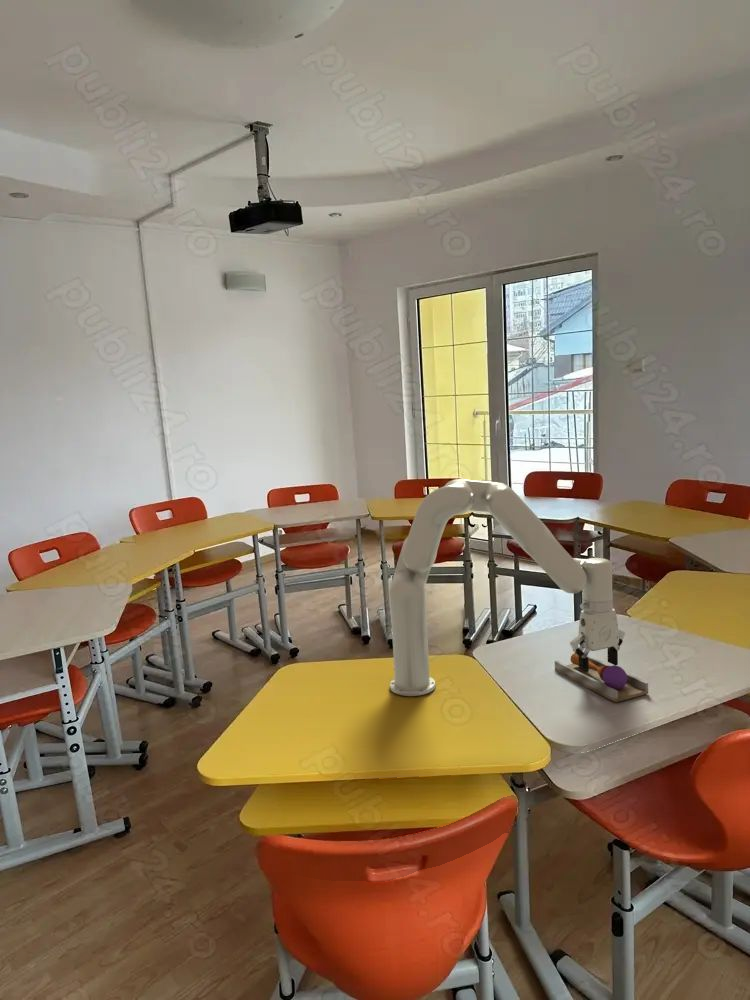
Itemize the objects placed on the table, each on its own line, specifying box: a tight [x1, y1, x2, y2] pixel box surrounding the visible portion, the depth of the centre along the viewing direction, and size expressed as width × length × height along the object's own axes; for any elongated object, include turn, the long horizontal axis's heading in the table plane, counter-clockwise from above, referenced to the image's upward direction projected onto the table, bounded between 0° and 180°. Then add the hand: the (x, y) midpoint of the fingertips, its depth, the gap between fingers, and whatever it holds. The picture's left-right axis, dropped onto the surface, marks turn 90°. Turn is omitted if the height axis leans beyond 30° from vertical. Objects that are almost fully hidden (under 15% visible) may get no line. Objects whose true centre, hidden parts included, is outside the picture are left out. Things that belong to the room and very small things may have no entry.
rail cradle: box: [554, 654, 649, 703], centre depth 179 cm, size 24×11×3 cm, turn 22°
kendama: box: [570, 652, 627, 689], centre depth 179 cm, size 6×6×20 cm
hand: (598, 667), depth 179 cm, fingers open, 9 cm apart
